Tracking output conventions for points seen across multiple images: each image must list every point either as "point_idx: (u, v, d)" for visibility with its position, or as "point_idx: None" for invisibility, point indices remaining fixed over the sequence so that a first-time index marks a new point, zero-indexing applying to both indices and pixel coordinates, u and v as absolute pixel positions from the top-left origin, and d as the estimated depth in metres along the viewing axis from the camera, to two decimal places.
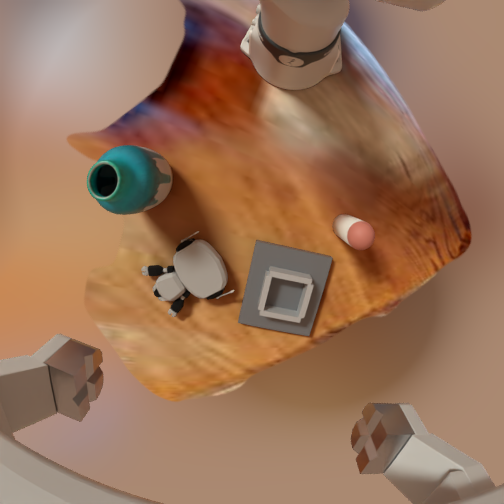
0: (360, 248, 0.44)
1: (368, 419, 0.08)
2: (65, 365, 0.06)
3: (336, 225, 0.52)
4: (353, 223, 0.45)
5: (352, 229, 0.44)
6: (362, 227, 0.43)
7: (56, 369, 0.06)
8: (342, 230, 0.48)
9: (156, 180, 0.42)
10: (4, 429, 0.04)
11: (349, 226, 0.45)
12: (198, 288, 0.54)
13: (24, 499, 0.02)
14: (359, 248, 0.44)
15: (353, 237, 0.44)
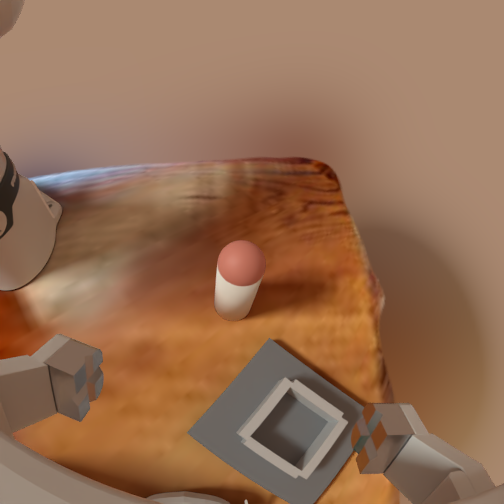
0: (259, 269, 0.27)
1: (368, 419, 0.08)
2: (65, 365, 0.06)
3: (222, 308, 0.34)
4: (217, 266, 0.28)
5: (223, 268, 0.27)
6: (226, 251, 0.27)
7: (56, 369, 0.06)
8: (225, 294, 0.30)
9: None
10: (4, 429, 0.04)
11: (219, 274, 0.28)
12: None
13: (24, 499, 0.02)
14: (258, 270, 0.27)
15: (235, 270, 0.26)
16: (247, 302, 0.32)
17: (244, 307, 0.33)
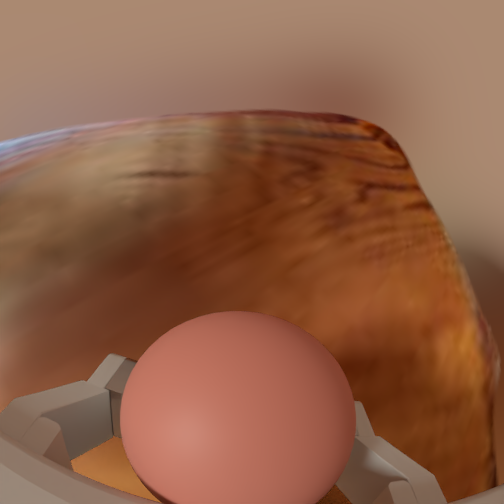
0: (334, 478, 0.04)
1: None
2: None
3: None
4: None
5: None
6: (146, 394, 0.04)
7: (118, 394, 0.06)
8: None
9: None
10: (66, 464, 0.04)
11: None
12: None
13: (24, 499, 0.02)
14: (330, 485, 0.04)
15: None
16: None
17: None
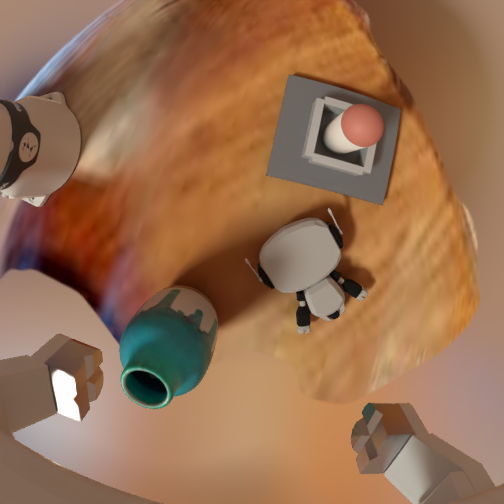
0: (382, 128, 0.26)
1: (368, 419, 0.08)
2: (65, 365, 0.06)
3: (340, 152, 0.35)
4: (344, 136, 0.28)
5: (355, 139, 0.27)
6: (352, 124, 0.26)
7: (56, 369, 0.06)
8: (351, 149, 0.30)
9: (162, 312, 0.31)
10: (4, 429, 0.04)
11: (348, 141, 0.28)
12: (326, 260, 0.38)
13: (24, 499, 0.02)
14: (382, 130, 0.26)
15: (367, 139, 0.26)
16: None
17: None
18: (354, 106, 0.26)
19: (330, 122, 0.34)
